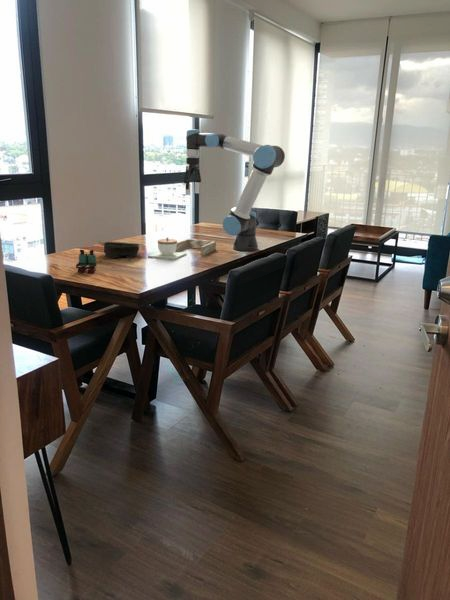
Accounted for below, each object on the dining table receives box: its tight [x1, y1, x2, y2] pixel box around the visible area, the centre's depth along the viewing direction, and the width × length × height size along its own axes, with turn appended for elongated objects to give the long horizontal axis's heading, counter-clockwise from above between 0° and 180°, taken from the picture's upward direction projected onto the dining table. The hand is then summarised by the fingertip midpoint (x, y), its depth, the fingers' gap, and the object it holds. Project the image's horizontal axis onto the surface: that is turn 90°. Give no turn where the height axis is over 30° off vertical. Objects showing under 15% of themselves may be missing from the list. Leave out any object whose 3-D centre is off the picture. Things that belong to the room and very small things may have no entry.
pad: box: [147, 250, 187, 261], centre depth 276 cm, size 16×16×1 cm
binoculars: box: [75, 249, 98, 274], centre depth 235 cm, size 9×11×10 cm
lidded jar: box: [157, 237, 178, 255], centre depth 274 cm, size 11×11×9 cm
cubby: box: [175, 238, 217, 257], centre depth 291 cm, size 19×20×5 cm
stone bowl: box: [98, 241, 145, 259], centre depth 273 cm, size 25×25×9 cm
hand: (192, 194), depth 295 cm, fingers open, 13 cm apart
